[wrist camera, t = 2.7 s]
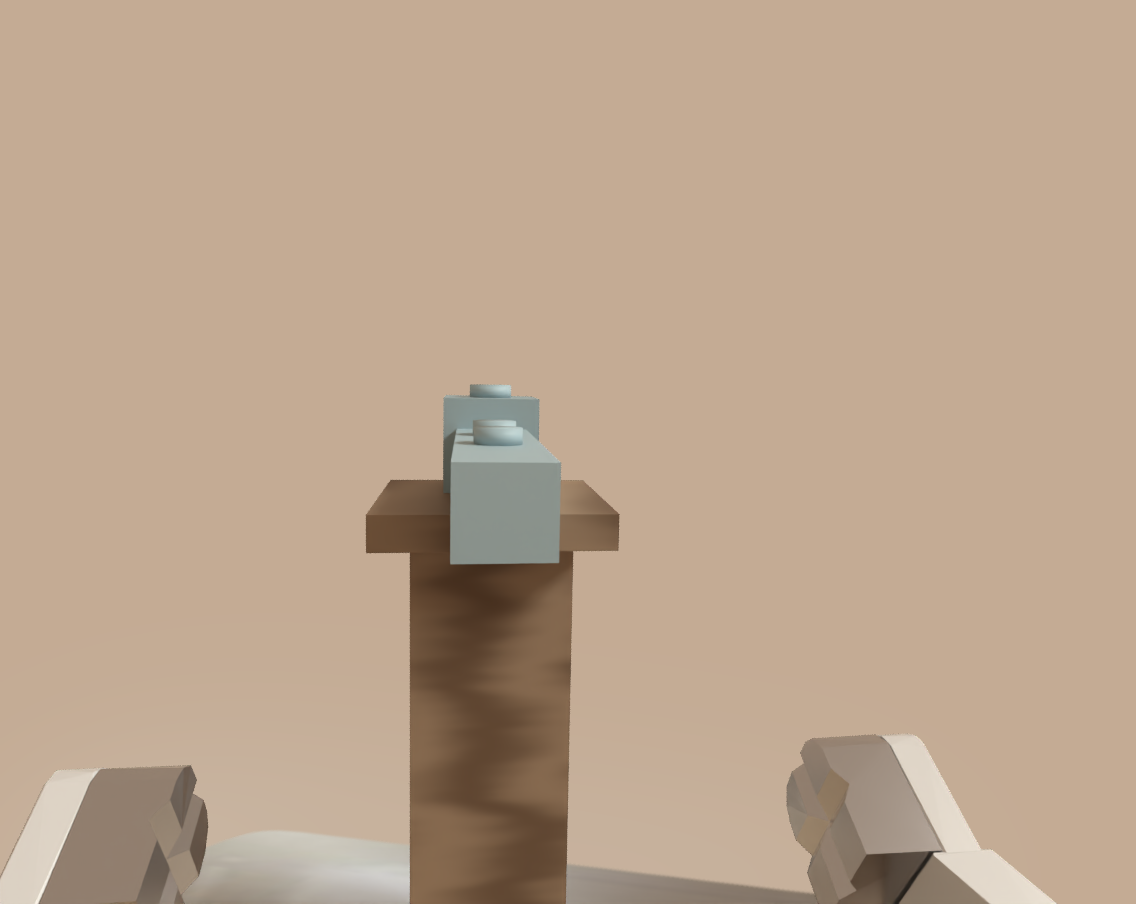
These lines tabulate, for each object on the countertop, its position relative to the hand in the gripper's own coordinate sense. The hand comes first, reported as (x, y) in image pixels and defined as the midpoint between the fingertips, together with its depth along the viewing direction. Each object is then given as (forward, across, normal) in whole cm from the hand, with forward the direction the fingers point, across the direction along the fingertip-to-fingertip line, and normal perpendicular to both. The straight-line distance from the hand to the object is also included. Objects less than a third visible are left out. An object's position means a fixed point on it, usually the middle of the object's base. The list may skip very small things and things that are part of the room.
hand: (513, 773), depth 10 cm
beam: (+18, +1, -11) cm, 21 cm away
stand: (+9, +1, -35) cm, 37 cm away
